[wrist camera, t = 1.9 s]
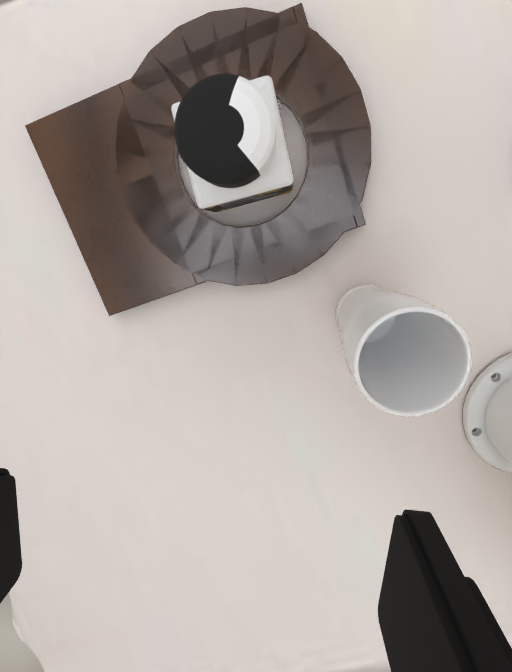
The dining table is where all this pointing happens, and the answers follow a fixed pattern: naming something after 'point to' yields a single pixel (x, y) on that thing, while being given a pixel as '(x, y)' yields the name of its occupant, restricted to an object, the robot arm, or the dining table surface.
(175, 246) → the holder board
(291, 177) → the medicine bottle
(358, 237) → the dining table surface
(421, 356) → the drinking glass
